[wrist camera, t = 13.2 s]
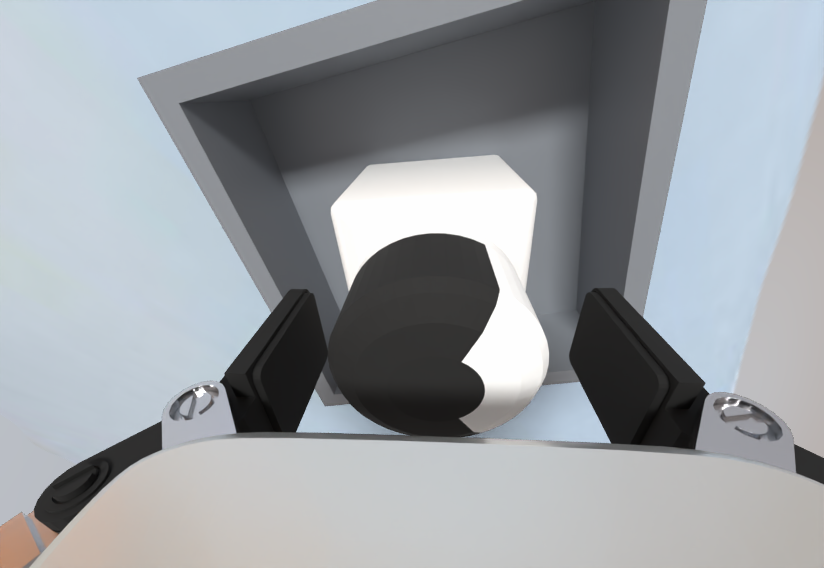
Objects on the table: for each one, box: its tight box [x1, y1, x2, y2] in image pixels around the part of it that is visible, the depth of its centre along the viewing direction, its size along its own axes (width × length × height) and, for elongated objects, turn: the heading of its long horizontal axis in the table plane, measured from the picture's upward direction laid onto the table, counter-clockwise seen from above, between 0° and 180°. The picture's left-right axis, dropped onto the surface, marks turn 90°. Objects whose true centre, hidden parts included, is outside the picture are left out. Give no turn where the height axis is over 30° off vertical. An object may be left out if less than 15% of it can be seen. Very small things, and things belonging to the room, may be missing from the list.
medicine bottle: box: [328, 155, 549, 437], centre depth 13 cm, size 7×7×12 cm
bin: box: [137, 0, 707, 406], centre depth 16 cm, size 18×18×6 cm
